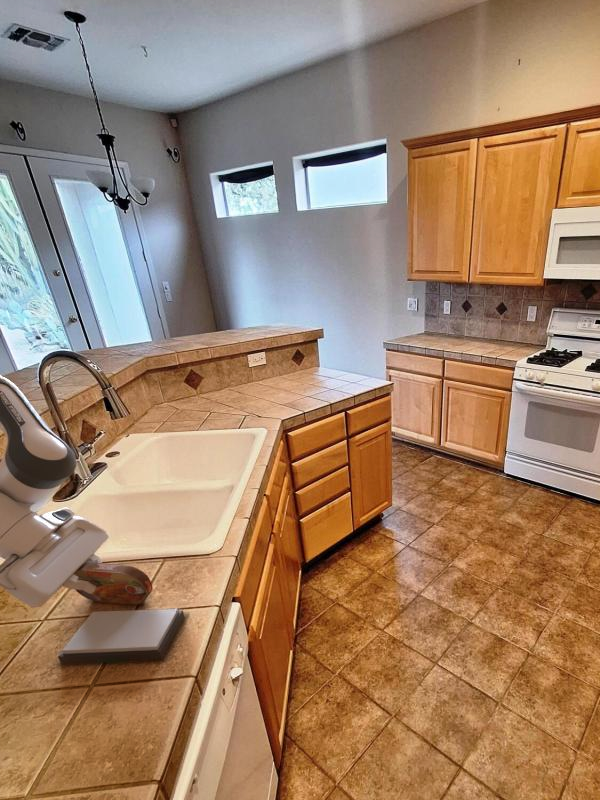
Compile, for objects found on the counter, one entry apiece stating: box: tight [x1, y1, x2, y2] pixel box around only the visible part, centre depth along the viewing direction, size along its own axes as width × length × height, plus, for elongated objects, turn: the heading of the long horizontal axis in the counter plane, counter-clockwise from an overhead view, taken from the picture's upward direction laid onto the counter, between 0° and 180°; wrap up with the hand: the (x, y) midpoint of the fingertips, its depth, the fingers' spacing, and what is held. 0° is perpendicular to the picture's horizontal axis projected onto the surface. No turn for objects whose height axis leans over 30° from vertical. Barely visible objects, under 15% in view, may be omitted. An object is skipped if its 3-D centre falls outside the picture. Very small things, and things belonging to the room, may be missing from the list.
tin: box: [74, 562, 154, 606], centre depth 83 cm, size 15×3×8 cm, turn 84°
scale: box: [57, 608, 186, 666], centre depth 75 cm, size 16×10×3 cm, turn 94°
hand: (101, 582), depth 83 cm, fingers closed on tin, 3 cm apart
